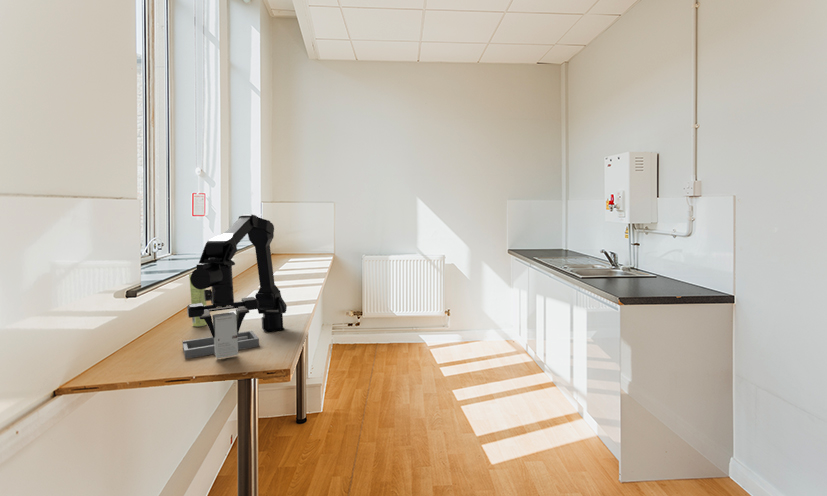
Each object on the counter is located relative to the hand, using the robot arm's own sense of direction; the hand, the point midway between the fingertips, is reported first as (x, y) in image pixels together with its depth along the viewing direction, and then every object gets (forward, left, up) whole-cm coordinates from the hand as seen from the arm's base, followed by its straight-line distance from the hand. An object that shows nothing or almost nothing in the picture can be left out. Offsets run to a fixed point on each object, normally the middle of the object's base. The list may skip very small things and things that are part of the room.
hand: (225, 335), depth 131 cm
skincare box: (0, 0, -6) cm, 6 cm away
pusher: (-4, -12, -6) cm, 14 cm away
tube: (+3, -46, -7) cm, 47 cm away
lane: (0, -12, -7) cm, 14 cm away
